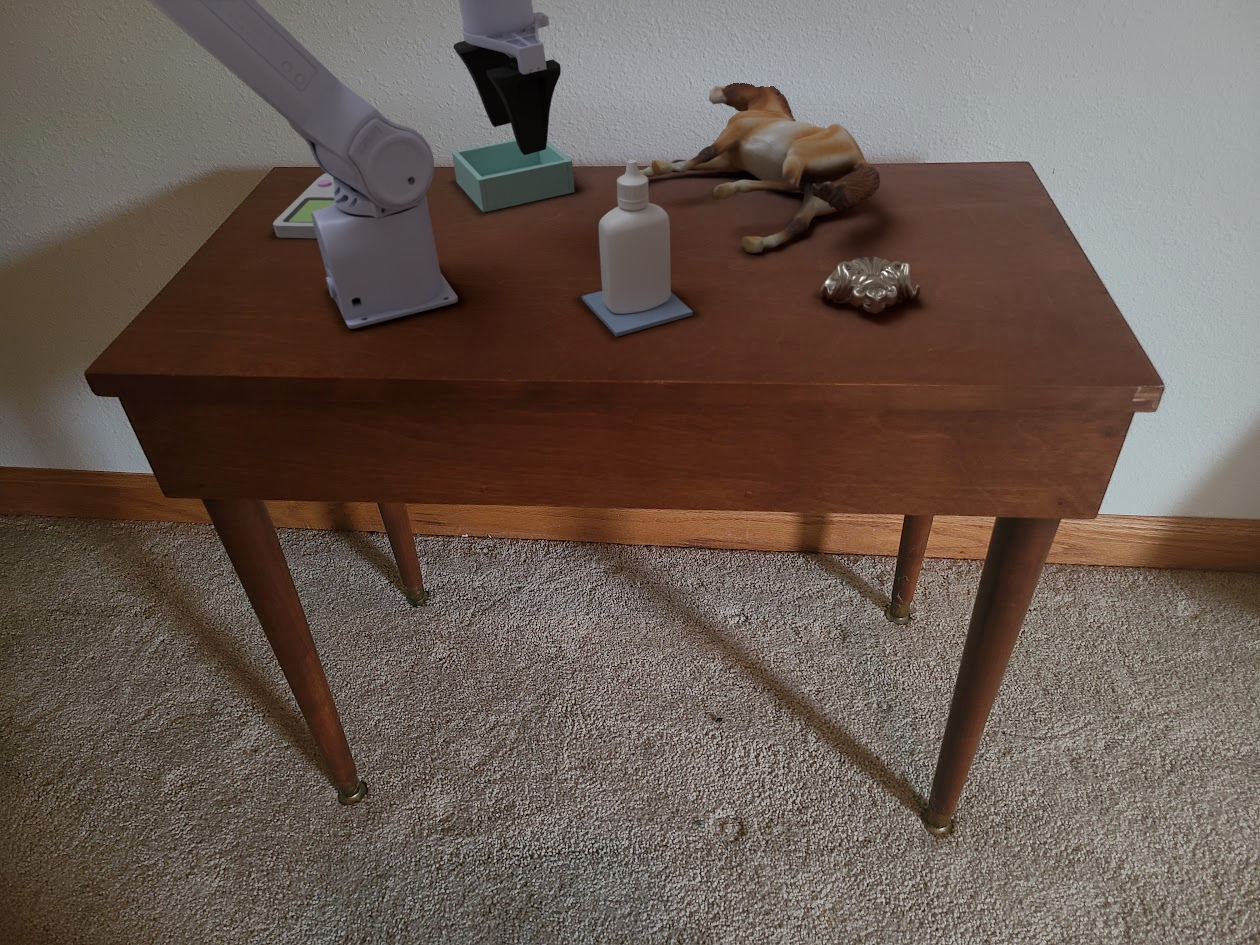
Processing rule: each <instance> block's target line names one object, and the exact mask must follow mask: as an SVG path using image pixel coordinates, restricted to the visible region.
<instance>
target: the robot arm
mask: <svg viewBox="0 0 1260 945" xmlns="http://www.w3.org/2000/svg"><path fill="white" fill-rule="evenodd" d="M147 1H148V2H149V3H150V4H151V5H153V6H154V7H155V8H156V9H157V10H158V11H159V12H160V13H162V15H164V16H165V17H166V18H168V19H169V20H171V22H172V23H173V24H174V25H176V26H177V27H178V28H179V29H181V30H182V32H184V33H185V34H187V35H188V36H189V37H190V38H191V39H192V40H193V41H194V42H196V43H197V44H198V45H199V46H200V47H201V48H202V49H204V50H205V51H206V52H207V53H208V54H210V55H211V57H213V58H215V60H217V61H218V62H219V63H220V64H221V65H223V66H224V67H225V68H226V69H227V70H228V71H229V72H230V73H231V74H233V75H234V76H235V77H236V78H238V79H239V80H240V81H241V82H242V83H243V84H244V85H246V86H247V87H248V88H249V89H250V90H252V91H253V92H254V93H255V94H256V95H257V96H258V97H259V98H261V99H262V100H263V101H264V102H266V103H267V104H268V105H269V106H270V107H271V108H273V109H274V110H275V111H276V112H277V113H278V114H279V115H281V116H282V117H283V118H284V119H285V120H286V121H287V122H288V124H289V126H290V128H292V130H293V131H295V132H296V133H297V134H298V135H299V136H300V137H301V138H302V139H303V140H304V141H305V142H306V144H307V146H308V147H309V149H310V152H311V154H312V156H313V159H314V161H315V162H316V164H317V165H318V166H319V168H320V169H321V170H322V171H324V173H327V174H329V175H331V176H332V177H333V180H334V199H335V202H334V203H333V204H331V205H329V206H327V207H325V208H322V209H319V210H316V211H314V212H312V213H311V216H312V221H313V225H314V229H315V233H316V237H317V238H316V240H317V243H318V247H319V252H320V255H321V258H322V262H323V266H324V269H325V273H326V277H325V281H326V282H325V283H326V286H327V289H328V292H329V294H330V297H331V299H334V301H335V303H336V305H337V307H338V310H339V311H340V313H341V314H340V315H341V316H342V318H343V320H344V322H345V324H346V326H347V328H348V329H350V330H354V329H359V328H362V327H366V326H371V325H375V324H380V323H382V322H387V321H391V320H394V319H399V318H402V317H407V316H410V315H413V314H414V315H415V314H418V313H421V312H426V311H431V310H434V309H437V308H438V309H439V308H441V307H446V306H450V305H453V304H456V303H458V301H459V299H458V295H457V293H456V292H455V290H453V288H452V287H451V285H450V283H448V281H447V280H446V278H445V277H444V275H443V274H442V272H441V269H440V268H441V267H440V263H439V257H438V253H437V246H436V242H435V236H434V230H433V225H432V220H431V215H430V209H429V203H428V199H427V192H428V190H429V189H430V187H431V185H432V182H433V178H434V173H435V159H434V155H433V151H432V148H431V146H430V144H429V143H428V141H427V140H426V138H425V137H424V136H423V135H422V134H421V133H420V132H418V131H417V130H416V129H414V128H412V127H410V126H406V125H404V124H400V123H396V122H395V121H393V120H390V119H389V118H387V117H385V116H384V115H383V114H382V113H381V111H379V110H378V109H377V108H376V107H374V106H373V104H371V103H370V102H368V101H367V100H365V99H364V98H363V97H362V96H360V95H359V94H357V92H355V91H353V90H352V89H351V88H350V87H348V86H347V85H345V84H344V83H343V82H342V81H340V80H339V79H338V78H337V76H335V75H334V73H332V72H331V71H330V70H329V69H328V68H327V67H326V66H325V65H324V64H323V63H322V62H321V61H319V60H318V59H317V57H315V56H314V55H313V54H312V53H311V52H310V51H309V50H308V49H307V48H306V47H305V46H304V45H303V44H302V43H301V42H300V41H299V40H298V39H297V38H295V37H294V36H293V35H292V33H290V32H289V30H287V29H286V28H285V26H283V25H282V24H281V23H280V22H279V21H278V20H277V19H276V18H275V17H273V15H271V13H270V12H269V11H267V10H266V9H265V8H264V7H263V6H262V5H261V4H260V3H259V2H258V1H257V0H147ZM458 3H459V8H460V14H461V18H462V25H461V26H462V27H461V32H462V37H463V40H460V41H458V42H456V43H454V44H453V50H454V51H455V52H456V54H457V55H458V57H459V58H460V60H461V61H462V63H463V64H464V66H465V67H466V69H467V71H468V73H469V74H470V76H471V78H472V81H473V83H474V85H475V87H476V89H477V93H478V95H479V97H480V101H481V102H482V105H483V108H484V110H485V113H486V115H487V118H488V119H489V122H490V123H491V125H492V127H493V128H498V127H500V126H505V125H509V124H510V125H511V129H512V132H513V135H514V139H516V142H517V144H518V147H519V149H520V151H521V153H522V154H524V155H527V154H531V153H535V152H539V151H542V150H545V149H546V145H547V140H548V135H549V125H550V124H549V122H550V113H551V112H550V111H551V105H552V99H553V95H554V92H555V89H556V85H557V83H558V81H559V79H560V76H561V73H562V72H561V69H562V68H561V64H560V63H559V62H558V61H556V60H555V59H553V58H552V59H548V60H546V55H545V46H544V43H543V42H542V41H541V40H540V37H539V35H540V34H539V29H541V28H545V27H548V26H550V21H549V16H548V15H547V14H545V13H544V12H541V11H539V12H538V11H537V12H534V8H533V0H458Z"/></svg>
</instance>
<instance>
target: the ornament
mask: <svg viewBox="0 0 1260 945" xmlns="http://www.w3.org/2000/svg"><path fill="white" fill-rule="evenodd" d="M911 283H912V282H911V265H910V263H908V262H905V261H904V262H901V261H899V260H894V261H892V262H891V261H889V260H887V259H886V258H880V257H877V256H871V257H865V256H859V257H857V258H853V259H851V260H849V261H847V260H842V261H840V262H839V263H838V264H837V267H836V268H835V269H834V270H833V271H832V273H830V274H829V276H827V278H826V279H825V280H824V282H823V283H822V285H821V287H820V288H819V292H818V295H819V298H822V299H824V298H826V300H829V301H830V300H832V301H833V302H834V303H836V304H838V305H844V304H848V303H850V304H851V305H852V306H854V307H856V308H858V307H860V306H862V309H863V310H864V311H866V312H868V313H871V314H878V313H879V314H880V313H881V312H883V311H885V308H890V307H892V306H894V305H900V304H902V303H903V301H904V300H908V299H909V300H910V301H912V300H914V299H918V298H919V297H920V294H921V285H920V284H916V285H914V287H913V286H912V284H911Z"/></svg>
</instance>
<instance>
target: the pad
mask: <svg viewBox="0 0 1260 945" xmlns="http://www.w3.org/2000/svg"><path fill="white" fill-rule="evenodd" d="M581 300H582V302H583V303H584V304H585V305H586V306H587V307H588V308H589V309H590V310H591V311H592V312H593V314H595V316H596V317H597V318H598V319H599V320H600V321H601V323H602V324H604V325H605V327H607V328H608V330H609V331H610V332H611V333H612V334H613V335H614V336H615V337H616V338H617V337H621V336H624V335H628V334H632V333H635V332H638V331H642V330H646V329H649V328H653V327H656V326H660V325H664V324H668V323H671V322H674V321H678V320H682V319H685V318H688V317H692V316H693V314H694V311H693V310H692V309H691V308H689V306H688V305H686V304H685V302H683V301H682V300H681V299H680V298H678V296H676V295H675V294H674V293H673V292H672V291H671V296H670V298H669V300H668V301H667V302H665V303H663V304H661V305H659V306H657V307H655V308H652V309H649V310H645V311H641V312H636V313H627V314H616V313H613V312H611V311H610V310H609V309H608V308H607V307H606V305H605V304H604V302H603V295H602V290H599V291H595V292H591V293H587V294H583V295H582V296H581Z"/></svg>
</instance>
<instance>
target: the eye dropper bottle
mask: <svg viewBox="0 0 1260 945" xmlns="http://www.w3.org/2000/svg"><path fill="white" fill-rule="evenodd" d="M638 170H639V167H638V163H637V160H636V159H627V161H626V168H625V172H624V174H623V175H622V174H621V175H620V176H618V177H617V179H616V194H617V206H616V207H613V209H611V210H610V211H608V212H607V213H606V214H604V215H603V216H602V217H601V218H600V220H599V222H598V245H599V261H600V262H599V264H600V276H601V277H600V278H601V291H602V295H603V302H604V304H605V305H606V307H607V308H608V309H609V310H610V311H611V312H613V313H616V314H627V313H636V312H641V311H645V310H649V309H652V308H655V307H657V306H659V305H661V304H663V303H665V302H667V301H668V300H669V298H670V296H671V292H672V290H671V288H672V287H671V286H672V285H671V284H672V282H671V279H672V278H671V277H672V276H671V274H672V273H671V226H670V217H669V214H668V213H667V212H666V210H664V208H662V207H661V206H659V205H657V204H655V203H651V202H650V195H649V178H648V177H646V176H645V175H642V174H640V173H639V171H638Z"/></svg>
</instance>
